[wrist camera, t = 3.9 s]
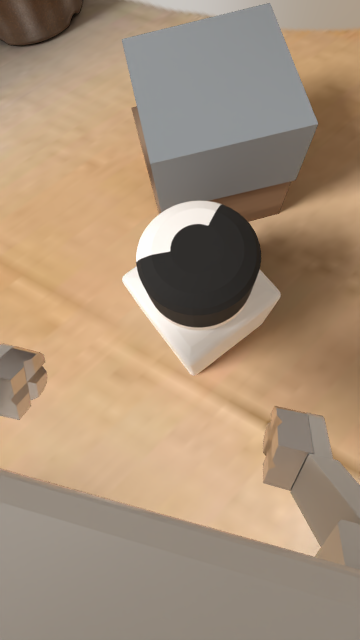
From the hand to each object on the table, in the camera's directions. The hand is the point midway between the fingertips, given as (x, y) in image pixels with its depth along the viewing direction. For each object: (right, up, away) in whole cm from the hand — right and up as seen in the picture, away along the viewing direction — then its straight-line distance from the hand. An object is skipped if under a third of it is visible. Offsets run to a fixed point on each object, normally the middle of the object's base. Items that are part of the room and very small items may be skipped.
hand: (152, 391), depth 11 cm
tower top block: (+3, +16, +14) cm, 22 cm away
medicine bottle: (+3, +3, +16) cm, 16 cm away
